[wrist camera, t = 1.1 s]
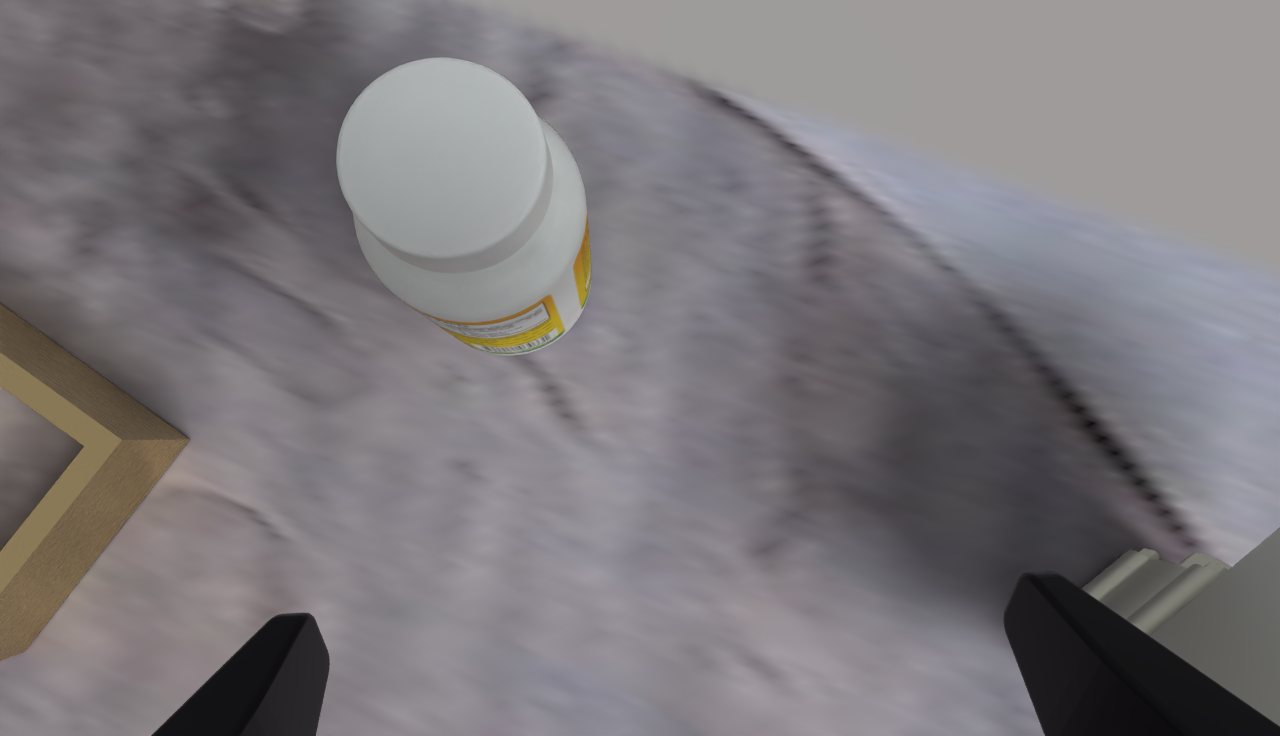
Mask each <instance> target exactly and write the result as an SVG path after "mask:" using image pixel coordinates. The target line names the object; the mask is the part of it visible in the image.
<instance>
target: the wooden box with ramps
mask: <svg viewBox="0 0 1280 736" xmlns="http://www.w3.org/2000/svg"><path fill="white" fill-rule="evenodd" d="M0 386H1V387H3V388H4V389H5V390H7V391H8V392H10V393H11V394H12V395H14V396H15V397H17V398H18V399H19V400H21V401H22V402H23V403H25V404H26V405H28V406H29V407H30V408H32V409H33V410H35V411H36V412H37V413H39V414H40V415H42V416H43V417H44V418H46V419H47V420H48V421H50V422H51V423H53V424H54V425H55V426H57V427H58V428H60V429H61V430H62V431H64V432H65V433H66V434H68V435H69V436H71V437H72V438H73V439H75V440H76V441H78V442H79V443H80V444H82V445H83V446H84V447H83V449H82V450H81V451H80V452H79V454H78V455H77V456H76V457H75V459H74V460H73V461H72V462H71V464H70V465H69V466H68V467H67V469H66V470H65V471H64V472H63V474H62V475H61V476H60V477H59V479H58V480H57V481H56V482H55V484H54V485H53V486H52V488H51V489H50V490H49V491H48V493H47V494H46V495H45V496H44V498H43V499H42V500H41V501H40V503H39V504H38V505H37V506H36V508H35V509H34V510H33V511H32V513H31V514H30V515H29V516H28V518H27V519H26V520H25V521H24V523H23V524H22V525H21V526H20V528H19V529H18V530H17V531H16V533H15V534H14V535H13V536H12V538H11V539H10V540H9V541H8V543H7V544H6V545H5V546H4V548H3V549H2V550H1V551H0V661H1V660H4V659H6V658H9V657H12V656H15V655H17V654H20V653H23V652H25V651H26V649H27V648H28V647H29V645H30V644H31V643H32V642H33V640H34V639H35V638H36V636H37V635H38V634H39V633H40V631H41V630H42V629H43V627H44V626H45V625H46V624H47V622H48V621H49V620H50V618H51V617H52V616H53V615H54V613H55V612H56V611H57V609H58V608H59V607H60V606H61V604H62V603H63V602H64V600H65V599H66V598H67V597H68V595H69V594H70V593H71V591H72V590H73V589H74V588H75V586H76V585H77V584H78V583H79V581H80V580H81V579H82V577H83V576H84V575H85V574H86V572H87V571H88V570H89V568H90V567H91V566H92V565H93V563H94V562H95V561H96V559H97V558H98V557H99V556H100V554H101V553H102V552H103V550H104V549H105V548H106V547H107V545H108V544H109V543H110V541H111V540H112V539H113V538H114V536H115V535H116V534H117V532H118V531H119V530H120V529H121V527H122V526H123V525H124V523H125V522H126V521H127V520H128V518H129V517H130V516H131V514H132V513H133V512H134V511H135V509H136V508H137V507H138V506H139V504H140V503H141V502H142V500H143V499H144V498H145V497H146V495H147V494H148V493H149V491H150V490H151V489H152V488H153V486H154V485H155V484H156V482H157V481H158V480H159V479H160V477H161V476H162V475H163V473H164V472H165V471H166V470H167V468H168V467H169V466H170V464H171V463H172V462H173V461H174V459H175V458H176V457H177V455H178V454H179V453H180V452H181V450H182V449H183V448H184V446H185V445H186V444H187V443H188V441H189V440H190V439H189V438H187V437H186V436H185V435H183V434H182V433H180V432H179V431H178V430H176V429H175V428H173V427H172V426H171V425H169V424H168V423H166V422H165V421H164V420H162V419H161V418H159V417H158V416H157V415H155V414H154V413H152V412H151V411H150V410H148V409H147V408H145V407H144V406H143V405H141V404H140V403H138V402H137V401H136V400H134V399H133V398H132V397H130V396H129V395H127V394H126V393H125V392H123V391H122V390H120V389H119V388H118V387H116V386H115V385H113V384H112V383H111V382H109V381H108V380H106V379H105V378H104V377H102V376H101V375H99V374H98V373H97V372H95V371H94V370H92V369H91V368H90V367H88V366H87V365H85V364H84V363H83V362H81V361H80V360H79V359H77V358H76V357H74V356H73V355H72V354H70V353H69V352H67V351H66V350H65V349H63V348H62V347H60V346H59V345H58V344H56V343H55V342H53V341H52V340H51V339H49V338H48V337H46V336H45V335H44V334H42V333H41V332H39V331H38V330H37V329H35V328H34V327H32V326H31V325H30V324H28V323H27V322H26V321H24V320H23V319H21V318H20V317H19V316H17V315H16V314H14V313H13V312H12V311H10V310H9V309H7V308H6V307H5V306H3V305H2V304H0Z"/></svg>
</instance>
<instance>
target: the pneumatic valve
mask: <svg viewBox="0 0 1280 736" xmlns="http://www.w3.org/2000/svg"><path fill="white" fill-rule="evenodd" d="M1081 589H1083V590H1084V591H1086V592H1087V593H1088V594H1090V595H1091V596H1093V597H1094V598H1096V599H1097V600H1099V601H1100V602H1101V603H1103V604H1104V605H1106V606H1107V607H1109V608H1110V609H1112V610H1113V611H1114V612H1116V613H1117V614H1119V615H1120V616H1122V617H1123V618H1124V619H1126V620H1127V621H1129V622H1130V623H1132V624H1133V625H1135V626H1136V627H1137V628H1139V629H1140V630H1142V631H1143V632H1145V633H1146V634H1148V635H1149V636H1150V637H1152V638H1153V639H1155V640H1156V641H1158V642H1159V643H1161V644H1162V645H1163V646H1165V647H1166V648H1168V649H1169V650H1171V651H1172V652H1174V653H1175V654H1176V655H1178V656H1179V657H1181V658H1182V659H1184V660H1185V661H1186V662H1188V663H1189V664H1191V665H1192V666H1194V667H1195V668H1197V669H1198V670H1199V671H1201V672H1202V673H1204V674H1205V675H1207V676H1208V677H1210V678H1211V679H1212V680H1214V681H1215V682H1217V683H1218V684H1220V685H1221V686H1223V687H1224V688H1225V689H1227V690H1228V691H1230V692H1231V693H1233V694H1234V695H1235V696H1237V697H1238V698H1240V699H1241V700H1243V701H1244V702H1246V703H1247V704H1248V705H1250V706H1251V707H1253V708H1254V709H1256V710H1257V711H1259V712H1260V713H1261V714H1263V715H1264V716H1266V717H1267V718H1269V719H1270V720H1272V721H1273V722H1274V723H1276V724H1277V725H1279V726H1280V528H1278V529H1277V530H1276V531H1275V532H1274V533H1272V534H1271V535H1270V536H1269V537H1268V538H1266V539H1265V540H1264V541H1263V542H1262V543H1260V544H1259V545H1258V546H1257V547H1256V548H1254V549H1253V550H1252V551H1251V552H1250V553H1248V554H1247V555H1246V556H1245V557H1244V558H1242V559H1241V560H1240V561H1239V562H1238V563H1236V564H1235V565H1234V566H1233V567H1231V566H1230V565H1228V564H1227V563H1225V562H1223V561H1221V560H1219V559H1217V558H1215V557H1212V556H1209V555H1206V554H1202V553H1193V554H1191V555H1190V556H1188V557H1187V558H1186V559H1184V560H1183V561H1181V562H1180V563H1179V564H1175V563H1172V562H1168V561H1163V560H1160V559H1159V555H1158V553H1157V552H1156V551H1154V550H1152V549H1146V548H1144V549H1142V550H1141V551H1140V552H1137V551H1134V550H1128V551H1127V552H1126V553H1124V554H1123V555H1122V556H1121V557H1120V558H1118V559H1117V560H1116V561H1115V562H1113V563H1112V564H1111V565H1110V566H1108V567H1107V568H1106V569H1105V570H1104V571H1102V572H1101V573H1100V574H1099V575H1097V576H1096V577H1095V578H1094V579H1093V580H1091V581H1090V582H1089V583H1088V584H1086V585H1085V586H1084V587H1083V588H1081Z"/></svg>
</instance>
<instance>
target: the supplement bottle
mask: <svg viewBox="0 0 1280 736" xmlns="http://www.w3.org/2000/svg"><path fill="white" fill-rule="evenodd" d="M336 167H337V174H338V179H339V183H340V186H341V190H342V193H343V196H344V198H345V199H346V201H347V203H348V205H349V207H350V209H351V210H352V212H353V218H354V225H355V231H356V235H357V239H358V242H359V245H360V247H361V250H362V252H363V254H364V256H365V258H366V260H367V262H368V264H369V265H370V267H371V268H372V270H373V271H374V273H375V274H376V276H377V277H378V278H379V279H380V280H381V282H382V283H383V284H384V285H385V286H386V287H387V288H388V289H389V290H390V291H391V292H392V293H393V294H394V295H396V296H397V297H398V298H399V299H401V300H402V301H403V302H405V303H406V304H408V305H409V306H411V307H412V308H414V309H415V310H417V311H418V312H419V313H421V314H422V315H424V316H425V317H427V318H428V319H430V320H431V321H433V322H434V323H436V324H437V325H438V326H440V327H441V328H442V329H444V330H445V331H447V332H449V333H450V334H451V335H453V336H454V337H456V338H457V339H459V340H460V341H462V342H464V343H465V344H467V345H469V346H471V347H473V348H475V349H478V350H480V351H484V352H487V353H491V354H497V355H520V354H526V353H530V352H534V351H537V350H540V349H542V348H544V347H546V346H548V345H550V344H552V343H553V342H555V341H557V340H558V339H559V338H561V337H562V336H563V335H564V334H565V333H567V332H568V331H569V330H570V328H571V327H572V326H573V325H574V324H575V322H576V321H577V319H578V318H579V317H580V315H581V313H582V311H583V309H584V307H585V305H586V302H587V299H588V296H589V292H590V287H591V256H590V245H589V230H588V217H587V204H586V196H585V189H584V185H583V181H582V177H581V175H580V172H579V169H578V166H577V164H576V162H575V160H574V158H573V156H572V154H571V152H570V151H569V149H568V147H567V146H566V144H565V143H564V142H563V140H562V139H561V138H560V136H559V135H558V134H557V133H556V132H555V131H554V130H553V129H552V128H551V127H550V126H549V125H548V124H547V123H546V122H544V121H543V120H542V119H541V118H539V117H538V116H537V115H536V113H535V111H534V110H533V108H532V106H531V105H530V103H529V102H528V100H527V99H526V98H525V96H524V95H523V94H522V93H521V92H520V91H519V90H518V89H517V88H516V87H515V86H514V85H513V84H512V83H511V82H510V81H508V80H507V79H506V78H504V77H503V76H501V75H500V74H498V73H496V72H495V71H493V70H491V69H489V68H487V67H485V66H483V65H480V64H477V63H473V62H470V61H466V60H462V59H456V58H449V57H437V58H426V59H420V60H416V61H412V62H409V63H405V64H402V65H400V66H397V67H395V68H393V69H391V70H390V71H388V72H386V73H384V74H383V75H381V76H380V77H378V78H377V79H375V80H374V81H373V82H372V83H371V84H370V85H369V86H367V87H366V88H365V89H364V90H363V91H362V93H361V94H360V95H359V96H358V97H357V98H356V100H355V102H354V103H353V104H352V106H351V107H350V109H349V111H348V113H347V115H346V117H345V119H344V121H343V124H342V126H341V129H340V133H339V137H338V143H337V153H336Z"/></svg>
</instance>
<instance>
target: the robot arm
mask: <svg viewBox="0 0 1280 736" xmlns="http://www.w3.org/2000/svg"><path fill="white" fill-rule="evenodd" d="M1004 627H1005V631H1006V635H1007V637H1008V640H1009V642H1010V645H1011V648H1012V650H1013V653H1014V656H1015V658H1016V661H1017V664H1018V666H1019V669H1020V672H1021V674H1022V677H1023V679H1024V682H1025V685H1026V687H1027V690H1028V693H1029V695H1030V698H1031V701H1032V703H1033V706H1034V708H1035V711H1036V714H1037V716H1038V719H1039V722H1040V724H1041V727H1042V730H1043V732H1044V734H1045V736H1280V726H1279V725H1277V724H1276V723H1274V722H1273V721H1272V720H1270V719H1269V718H1267V717H1266V716H1264V715H1263V714H1261V713H1260V712H1259V711H1257V710H1256V709H1254V708H1253V707H1251V706H1250V705H1248V704H1247V703H1246V702H1244V701H1243V700H1241V699H1240V698H1238V697H1237V696H1235V695H1234V694H1233V693H1231V692H1230V691H1228V690H1227V689H1225V688H1224V687H1223V686H1221V685H1220V684H1218V683H1217V682H1215V681H1214V680H1212V679H1211V678H1210V677H1208V676H1207V675H1205V674H1204V673H1202V672H1201V671H1199V670H1198V669H1197V668H1195V667H1194V666H1192V665H1191V664H1189V663H1188V662H1186V661H1185V660H1184V659H1182V658H1181V657H1179V656H1178V655H1176V654H1175V653H1174V652H1172V651H1171V650H1169V649H1168V648H1166V647H1165V646H1163V645H1162V644H1161V643H1159V642H1158V641H1156V640H1155V639H1153V638H1152V637H1150V636H1149V635H1148V634H1146V633H1145V632H1143V631H1142V630H1140V629H1139V628H1137V627H1136V626H1135V625H1133V624H1132V623H1130V622H1129V621H1127V620H1126V619H1124V618H1123V617H1122V616H1120V615H1119V614H1117V613H1116V612H1114V611H1113V610H1112V609H1110V608H1109V607H1107V606H1106V605H1104V604H1103V603H1101V602H1100V601H1099V600H1097V599H1096V598H1094V597H1093V596H1091V595H1090V594H1088V593H1087V592H1086V591H1084V590H1083V589H1081V588H1080V587H1078V586H1077V585H1075V584H1074V583H1073V582H1071V581H1070V580H1068V579H1067V578H1065V577H1064V576H1062V575H1060V574H1058V573H1056V572H1050V571H1046V572H1028V573H1024V574H1023V575H1021V576H1020V577H1019V579H1018V581H1017V583H1016V586H1015V588H1014V590H1013V593H1012V595H1011V597H1010V600H1009V602H1008V605H1007V607H1006V609H1005V612H1004ZM329 665H330V663H329V653H328V650H327V648H326V645H325V643H324V640H323V638H322V635H321V633H320V630H319V628H318V625H317V623H316V620H315V619H314V617H313V616H312V615H311V614H309V613H289V614H280V615H277V616H275V617H273V618H272V619H270V620H269V621H268V622H267V623H266V624H265V625H264V626H263V627H262V628H261V629H260V630H259V631H258V632H257V633H256V634H255V635H254V636H253V637H252V638H251V639H249V640H248V641H247V642H246V643H245V644H244V645H243V646H242V647H241V648H240V649H239V650H238V651H237V652H236V653H235V654H234V655H233V656H232V657H231V658H230V659H229V660H228V661H227V662H226V663H225V664H224V665H223V666H222V667H221V668H220V669H219V670H218V671H217V672H216V673H215V674H214V675H213V676H212V677H211V678H210V679H209V680H208V681H207V682H206V683H205V684H204V685H203V686H201V687H200V688H199V689H198V690H197V691H196V692H195V693H194V694H193V695H192V696H191V697H190V698H189V699H188V700H187V701H186V702H185V703H184V704H183V705H182V706H181V707H180V708H179V709H178V710H177V711H176V712H175V713H174V714H173V715H172V716H171V717H170V718H169V719H168V720H167V721H166V722H165V723H164V724H163V725H162V726H161V727H160V728H159V729H158V730H157V731H156V732H155V733H153V734H152V735H151V736H316V732H317V727H318V722H319V717H320V712H321V708H322V703H323V698H324V693H325V688H326V683H327V679H328V673H329Z"/></svg>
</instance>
